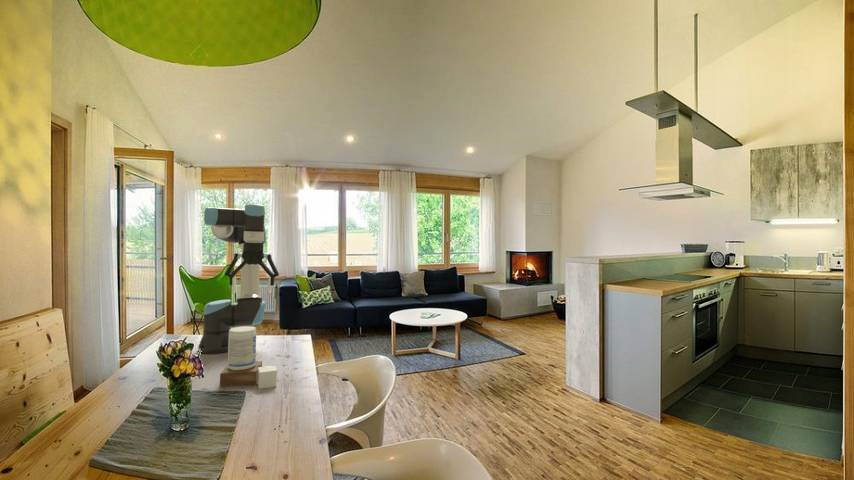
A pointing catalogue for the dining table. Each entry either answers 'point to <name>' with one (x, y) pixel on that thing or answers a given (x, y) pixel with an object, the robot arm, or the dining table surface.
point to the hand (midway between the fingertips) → (251, 293)
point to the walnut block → (240, 376)
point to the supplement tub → (242, 348)
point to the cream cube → (267, 376)
